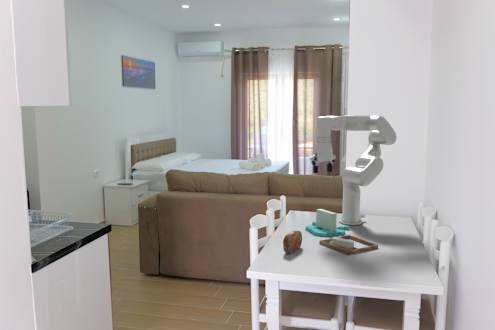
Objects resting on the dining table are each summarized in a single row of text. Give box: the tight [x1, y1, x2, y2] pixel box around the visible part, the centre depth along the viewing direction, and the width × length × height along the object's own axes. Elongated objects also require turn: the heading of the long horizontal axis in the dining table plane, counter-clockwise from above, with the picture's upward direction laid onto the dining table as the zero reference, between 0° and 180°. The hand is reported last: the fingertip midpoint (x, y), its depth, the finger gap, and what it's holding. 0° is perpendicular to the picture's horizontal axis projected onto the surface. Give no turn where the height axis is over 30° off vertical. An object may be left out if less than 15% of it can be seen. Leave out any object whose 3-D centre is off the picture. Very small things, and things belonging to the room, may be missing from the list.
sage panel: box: [315, 208, 337, 231], centre depth 227 cm, size 3×12×9 cm, turn 32°
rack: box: [318, 234, 379, 256], centre depth 203 cm, size 19×19×2 cm
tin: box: [282, 230, 303, 254], centre depth 196 cm, size 15×3×8 cm, turn 148°
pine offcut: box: [329, 241, 353, 251], centre depth 201 cm, size 3×12×2 cm, turn 32°
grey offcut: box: [331, 236, 355, 248], centre depth 200 cm, size 3×10×2 cm, turn 46°
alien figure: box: [305, 220, 350, 238], centre depth 227 cm, size 20×2×20 cm
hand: (322, 172), depth 229 cm, fingers open, 9 cm apart
